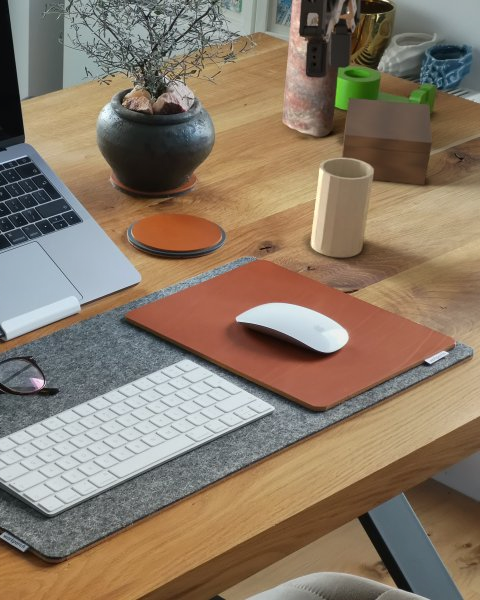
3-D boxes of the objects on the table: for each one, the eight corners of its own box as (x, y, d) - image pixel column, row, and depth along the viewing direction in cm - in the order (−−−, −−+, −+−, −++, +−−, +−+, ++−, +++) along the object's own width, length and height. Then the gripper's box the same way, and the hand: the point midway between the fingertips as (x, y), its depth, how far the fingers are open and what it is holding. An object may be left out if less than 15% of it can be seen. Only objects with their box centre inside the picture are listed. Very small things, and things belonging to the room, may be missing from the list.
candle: (278, 135, 161) (291, -3, 150) (281, 117, 167) (294, -17, 157) (331, 140, 159) (349, 1, 149) (332, 121, 165) (350, -14, 155)
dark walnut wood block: (422, 144, 158) (429, 104, 155) (424, 185, 146) (431, 142, 143) (343, 137, 160) (348, 97, 157) (339, 176, 149) (344, 134, 146)
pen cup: (362, 237, 134) (374, 160, 129) (361, 260, 129) (373, 181, 124) (312, 231, 135) (321, 155, 130) (308, 254, 130) (318, 176, 125)
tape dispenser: (321, 104, 172) (325, 75, 169) (341, 91, 176) (345, 63, 174) (414, 126, 164) (419, 96, 162) (433, 112, 169) (438, 82, 166)
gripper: (352, -81, 111) (342, 83, 116) (389, -84, 122) (379, 65, 128) (279, -80, 114) (274, 79, 120) (322, -83, 126) (315, 62, 131)
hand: (328, 71), depth 124 cm, fingers open, 8 cm apart
